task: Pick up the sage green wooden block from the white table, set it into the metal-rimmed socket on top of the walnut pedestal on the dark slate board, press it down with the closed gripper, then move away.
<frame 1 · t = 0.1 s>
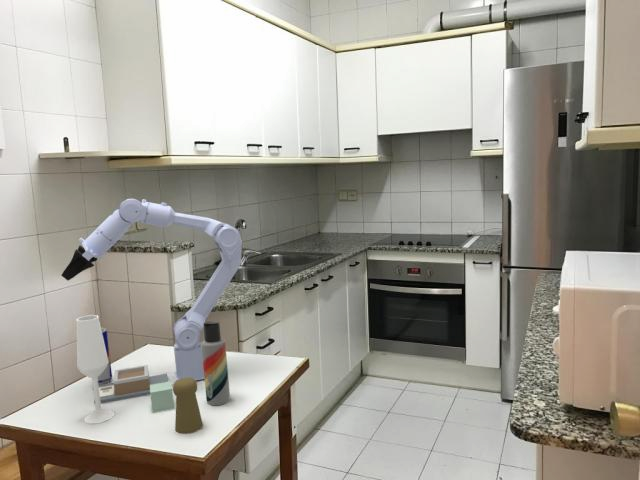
hand: (66, 275, 136), 32 cm above the table, tool tilted 50°, fingers open, 7 cm apart
beverage can: (102, 383, 148), on the table
champagne flute: (99, 417, 127), on the table
sage block: (162, 406, 131), on the table
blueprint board: (133, 389, 142), on the table
cork: (189, 428, 119), on the table
lotion bottle: (218, 401, 132), on the table
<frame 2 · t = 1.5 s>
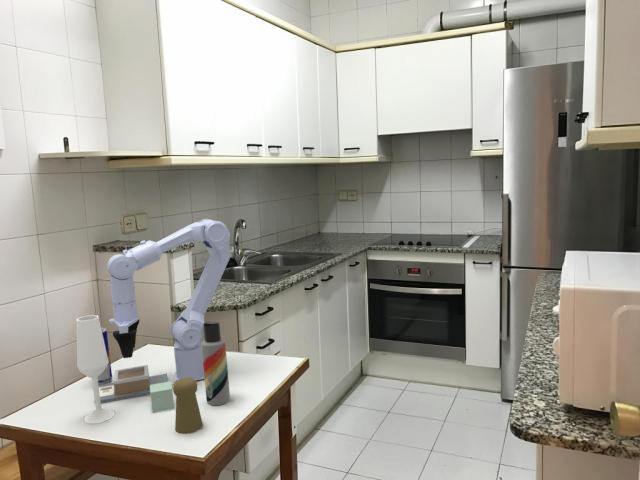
hand: (129, 352, 140), 10 cm above the table, tool pointing down, fingers open, 7 cm apart
nothing on the table moved.
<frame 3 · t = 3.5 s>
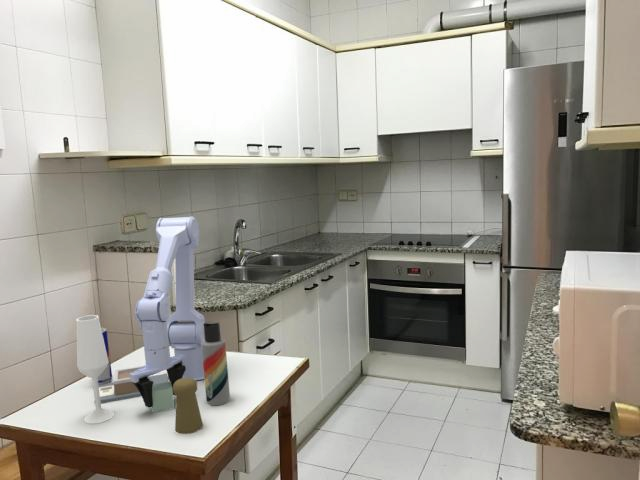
hand: (162, 400, 131), 1 cm above the table, tool pointing down, fingers closed on sage block, 7 cm apart
sage block: (162, 406, 131), on the table, touching gripper
everything else where it was.
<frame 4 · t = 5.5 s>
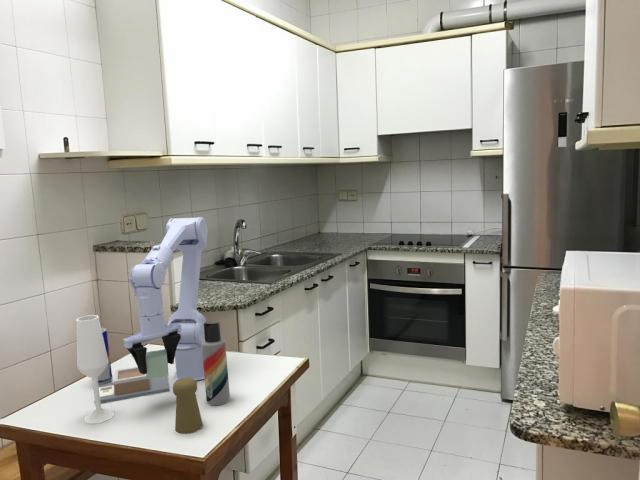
hand: (157, 368, 130), 9 cm above the table, tool pointing down, fingers closed on sage block, 7 cm apart
sage block: (157, 373, 131), point 8 cm above the table, touching gripper
everything else where it was.
when the fingers open (7 cm above the table, at t = 7.7 s): sage block moves 1 cm, resting on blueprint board.
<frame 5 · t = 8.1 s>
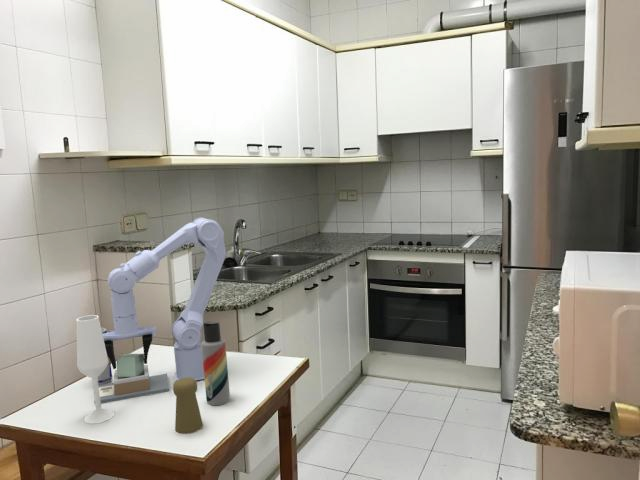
hand: (130, 365, 141), 7 cm above the table, tool pointing down, fingers open, 7 cm apart
sage block: (130, 374, 141), point 4 cm above the table, tilted 10°, touching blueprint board
everything else where it was.
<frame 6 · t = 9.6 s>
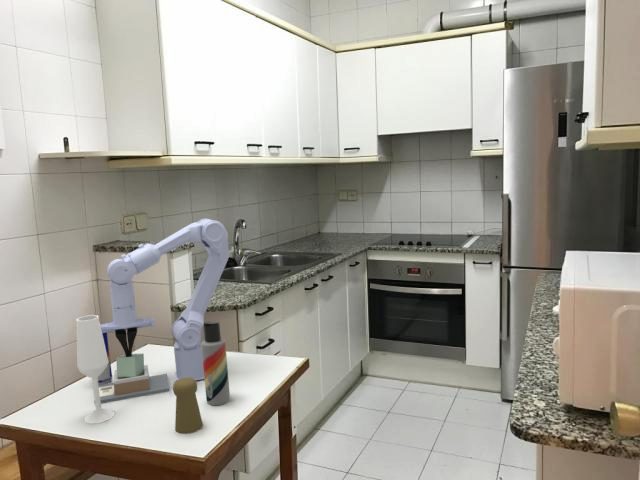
hand: (128, 356, 141), 9 cm above the table, tool pointing down, fingers closed, pressing on sage block
sage block: (130, 374, 141), point 4 cm above the table, tilted 10°, touching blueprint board, gripper
everything else where it was.
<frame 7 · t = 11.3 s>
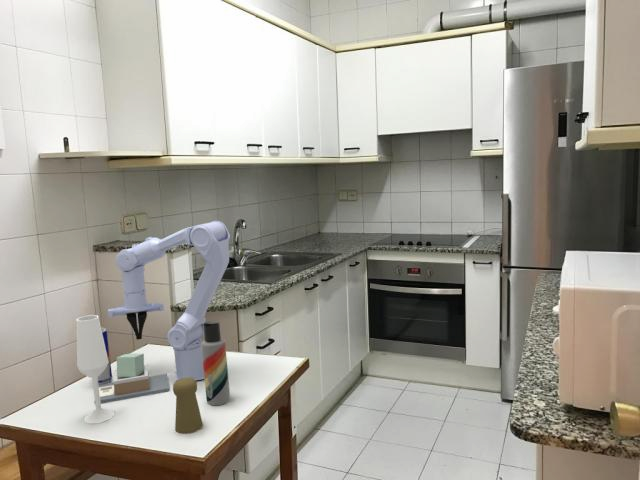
hand: (139, 338, 151), 10 cm above the table, tool pointing down, fingers closed
sage block: (130, 374, 141), point 4 cm above the table, tilted 10°, touching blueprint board
everything else where it was.
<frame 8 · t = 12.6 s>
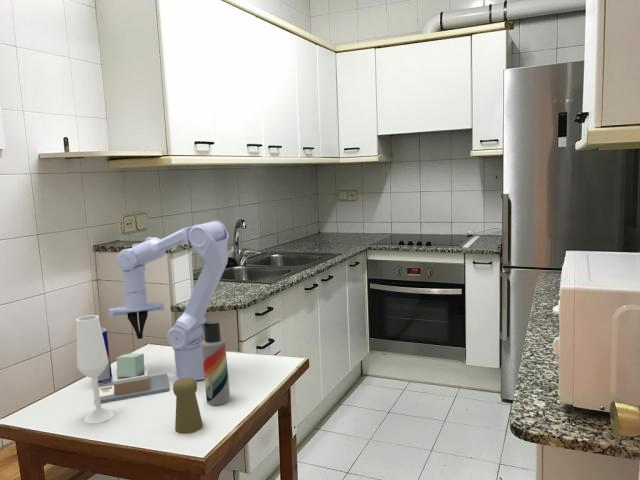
hand: (140, 337, 152), 10 cm above the table, tool pointing down, fingers closed
nothing on the table moved.
at the end: sage block 0.3 cm off-centre on the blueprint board, point 4.2 cm above the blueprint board's base; sage block tilted 10°; the gripper is holding nothing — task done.
